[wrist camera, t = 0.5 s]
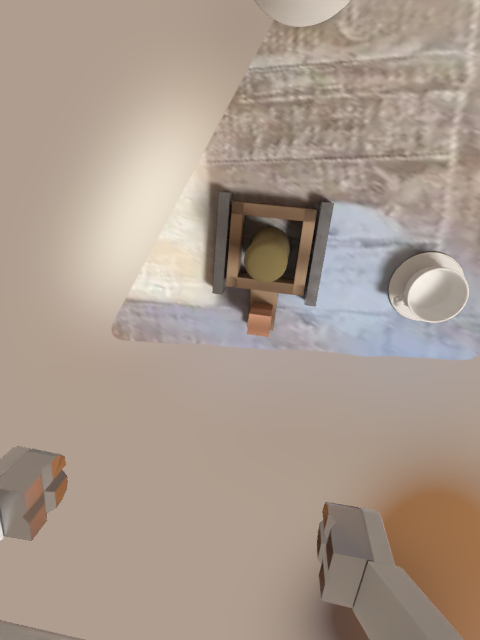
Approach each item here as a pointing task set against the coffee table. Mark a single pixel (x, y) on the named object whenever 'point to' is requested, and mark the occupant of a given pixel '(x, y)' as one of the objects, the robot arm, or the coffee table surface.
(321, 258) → the lane rails
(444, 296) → the teacup
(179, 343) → the coffee table surface
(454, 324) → the coffee table surface
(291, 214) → the frame
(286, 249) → the cork
